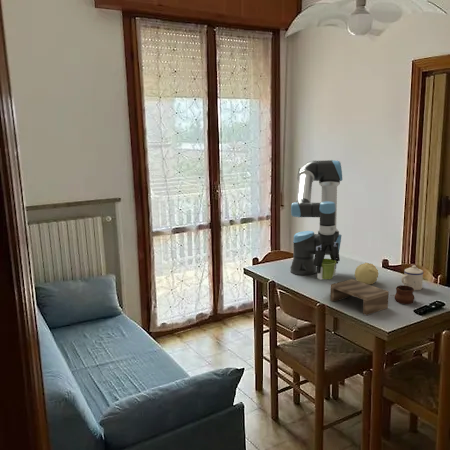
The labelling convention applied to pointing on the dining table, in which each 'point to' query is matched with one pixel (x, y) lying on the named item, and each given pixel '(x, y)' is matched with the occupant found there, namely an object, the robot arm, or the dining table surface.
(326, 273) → the plant pot
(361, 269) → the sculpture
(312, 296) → the dining table surface
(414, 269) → the teacup with lid
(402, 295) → the ceramic pot
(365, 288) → the walnut shelf
